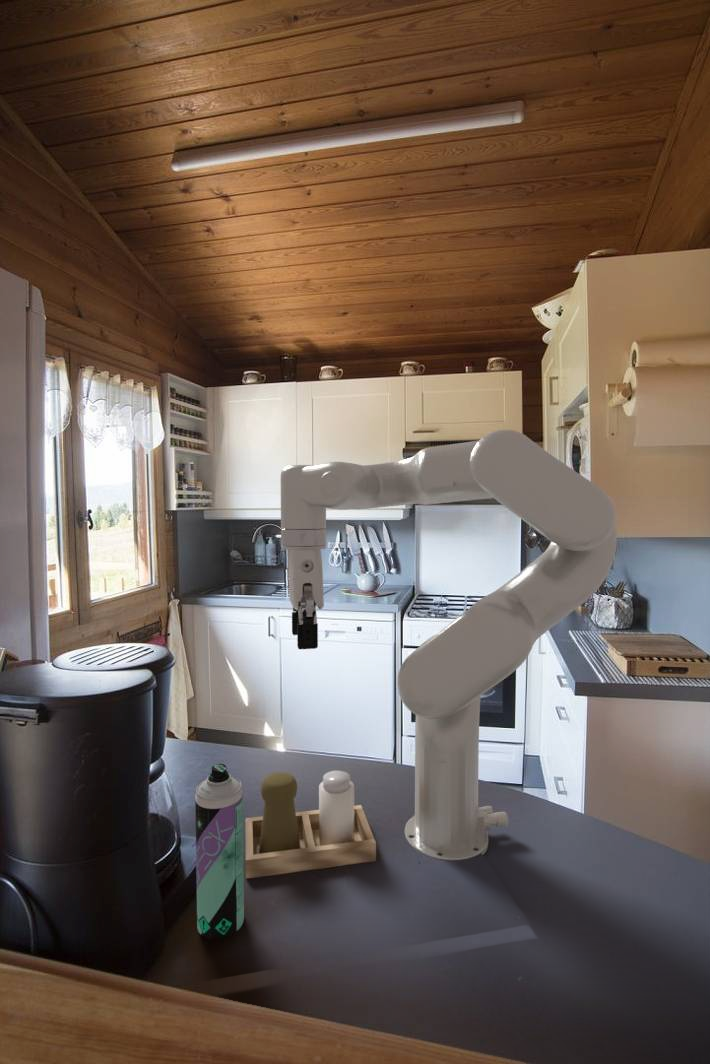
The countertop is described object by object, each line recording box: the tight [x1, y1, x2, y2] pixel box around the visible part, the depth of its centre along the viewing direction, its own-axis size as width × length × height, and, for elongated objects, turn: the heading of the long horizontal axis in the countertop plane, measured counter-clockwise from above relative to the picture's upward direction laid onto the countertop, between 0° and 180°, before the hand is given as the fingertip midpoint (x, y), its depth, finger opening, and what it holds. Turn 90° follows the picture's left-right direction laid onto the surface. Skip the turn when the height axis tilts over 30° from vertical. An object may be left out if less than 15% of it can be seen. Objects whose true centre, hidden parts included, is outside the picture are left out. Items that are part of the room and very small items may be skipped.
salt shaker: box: [318, 770, 355, 846], centre depth 80 cm, size 5×5×10 cm
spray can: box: [194, 763, 245, 940], centre depth 65 cm, size 6×6×20 cm
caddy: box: [245, 804, 377, 879], centre depth 79 cm, size 18×10×4 cm, turn 102°
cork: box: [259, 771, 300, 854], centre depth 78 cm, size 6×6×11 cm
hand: (304, 641), depth 91 cm, fingers open, 9 cm apart
